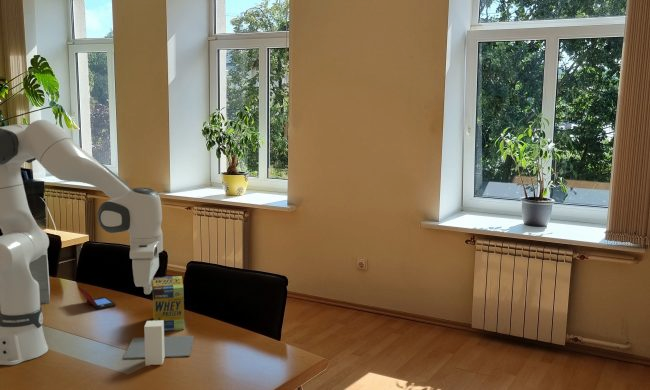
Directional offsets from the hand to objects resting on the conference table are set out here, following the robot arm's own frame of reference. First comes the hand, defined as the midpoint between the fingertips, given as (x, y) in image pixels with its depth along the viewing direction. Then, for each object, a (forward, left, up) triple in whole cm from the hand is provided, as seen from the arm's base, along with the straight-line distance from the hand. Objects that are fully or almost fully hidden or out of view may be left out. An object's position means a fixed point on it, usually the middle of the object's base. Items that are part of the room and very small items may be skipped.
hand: (148, 292), depth 170 cm
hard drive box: (-55, +75, -25) cm, 96 cm away
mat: (0, +20, -25) cm, 32 cm away
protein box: (0, +42, -25) cm, 49 cm away
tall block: (0, +9, -25) cm, 27 cm away
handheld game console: (-30, +65, -25) cm, 76 cm away
